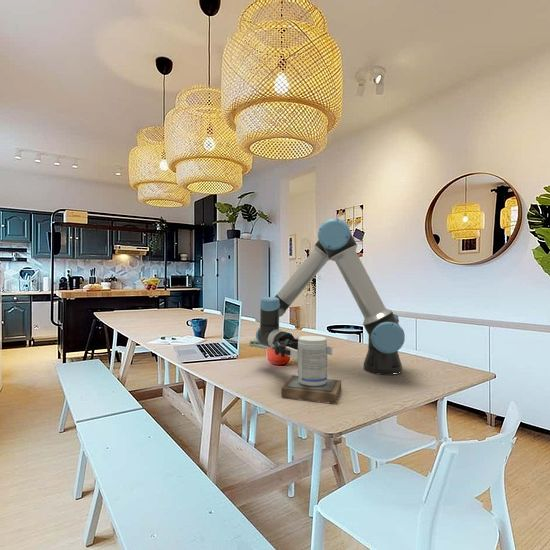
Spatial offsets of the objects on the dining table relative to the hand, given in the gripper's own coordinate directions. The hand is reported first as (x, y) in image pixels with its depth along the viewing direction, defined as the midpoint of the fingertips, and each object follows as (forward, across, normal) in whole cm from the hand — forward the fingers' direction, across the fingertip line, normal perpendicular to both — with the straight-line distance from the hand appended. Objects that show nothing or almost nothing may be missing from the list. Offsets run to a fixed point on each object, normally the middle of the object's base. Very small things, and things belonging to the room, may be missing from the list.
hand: (314, 352), depth 120 cm
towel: (-74, -27, -14) cm, 79 cm away
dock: (-1, 0, -14) cm, 14 cm away
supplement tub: (-1, 0, -10) cm, 10 cm away
